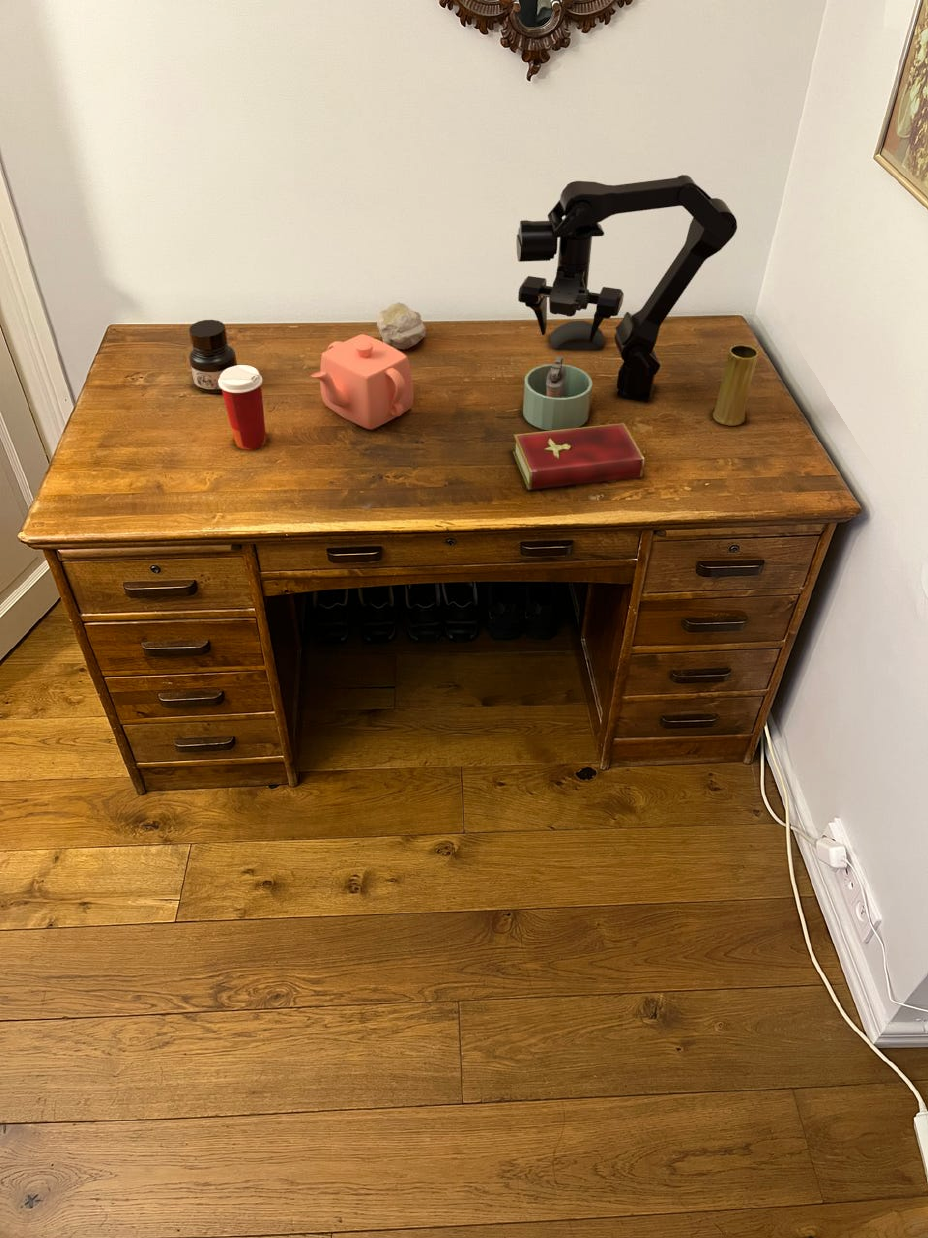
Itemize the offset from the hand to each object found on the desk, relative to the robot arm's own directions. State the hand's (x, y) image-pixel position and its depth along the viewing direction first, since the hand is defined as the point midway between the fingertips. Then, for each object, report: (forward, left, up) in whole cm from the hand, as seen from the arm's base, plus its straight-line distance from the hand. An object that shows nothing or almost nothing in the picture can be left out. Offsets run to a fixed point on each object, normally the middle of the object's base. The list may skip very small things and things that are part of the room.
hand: (567, 337), depth 187 cm
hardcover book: (-9, +22, -13) cm, 27 cm away
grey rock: (+37, -8, -13) cm, 40 cm away
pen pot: (-1, +7, -12) cm, 14 cm away
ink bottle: (+66, +20, -13) cm, 70 cm away
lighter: (0, +7, -12) cm, 14 cm away
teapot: (+35, +21, -13) cm, 43 cm away
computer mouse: (+3, -21, -13) cm, 25 cm away
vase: (-33, -3, -13) cm, 35 cm away
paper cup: (+50, +36, -13) cm, 63 cm away
